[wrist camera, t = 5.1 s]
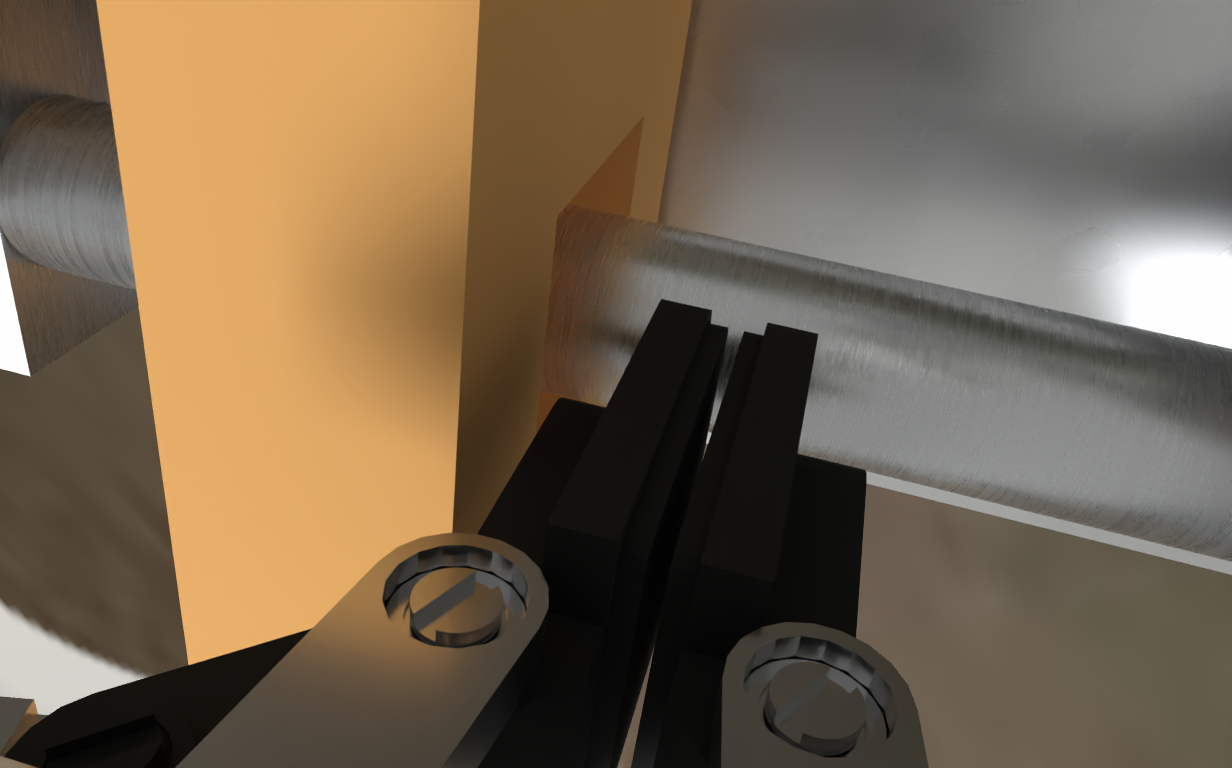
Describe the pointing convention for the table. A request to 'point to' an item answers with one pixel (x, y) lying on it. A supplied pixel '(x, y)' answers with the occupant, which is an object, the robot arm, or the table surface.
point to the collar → (359, 263)
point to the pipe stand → (839, 241)
